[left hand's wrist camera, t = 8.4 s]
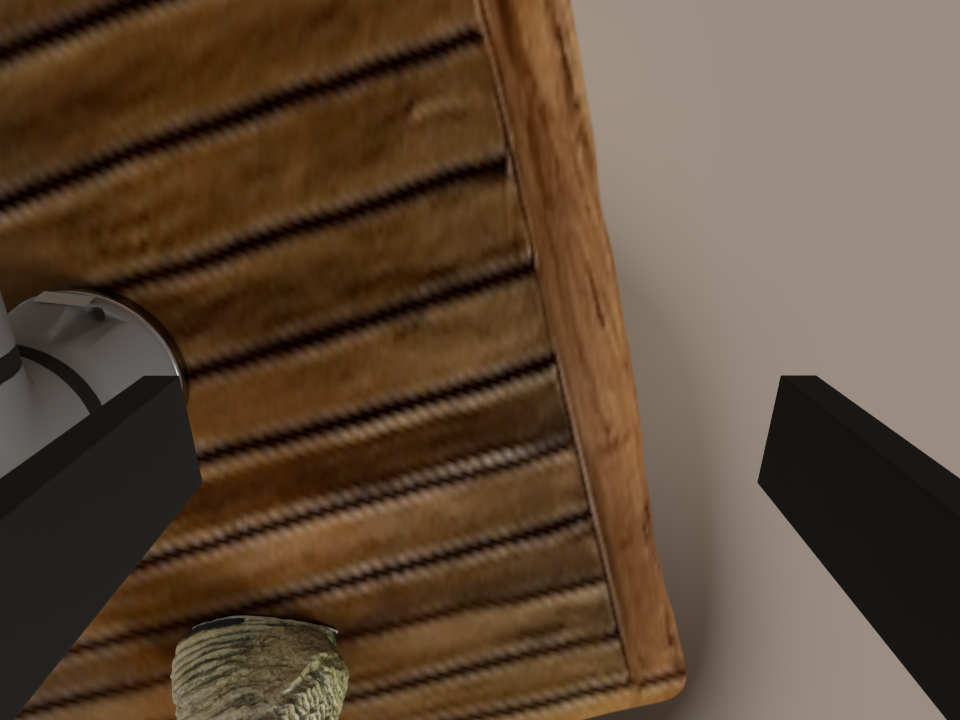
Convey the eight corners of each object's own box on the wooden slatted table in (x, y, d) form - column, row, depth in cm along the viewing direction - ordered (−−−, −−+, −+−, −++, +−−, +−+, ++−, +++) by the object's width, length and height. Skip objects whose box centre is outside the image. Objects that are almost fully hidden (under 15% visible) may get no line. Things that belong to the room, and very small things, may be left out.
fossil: (366, 658, 62) (332, 811, 48) (206, 680, 63) (129, 835, 49) (344, 597, 58) (301, 741, 44) (176, 621, 60) (84, 770, 46)
